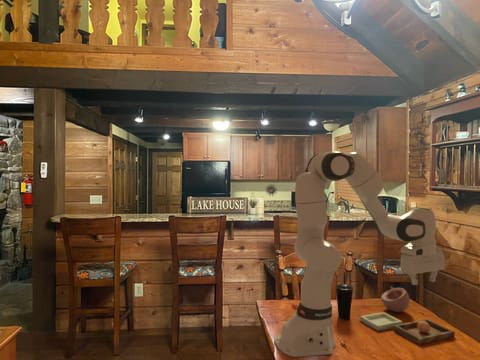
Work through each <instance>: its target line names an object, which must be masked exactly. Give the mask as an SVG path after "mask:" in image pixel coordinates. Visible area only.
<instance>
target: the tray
mask: <svg viewBox="0 0 480 360" xmlns="http://www.w3.org/2000/svg"><path fill="white" fill-rule="evenodd" d="M359 319H360V322H362V323H363V324H365V325H367V326H368V327H370V328H371V329H374V330H375V331H377V332H380V331H386V330H390V329H394V325H398V324H403V320H400V319H398V318H397V317H395V316H393V315H391V314H388V313H387V312H385V311H383V312H376V313H371V314H366V315H360V317H359Z"/></svg>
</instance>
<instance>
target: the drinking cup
mask: <svg viewBox="0 0 480 360" xmlns="http://www.w3.org/2000/svg"><path fill="white" fill-rule="evenodd" d="M335 289H336V305H337V315H338V318H339V319H341V320H343V321H347V320H348V321H349V320H350V319H351V314H352V313H351V311H352V302H353V300H352V299H353V292H354V286H352V285H350V284H349V283H346V272H345V271H344V272H343V283H338V284H335Z"/></svg>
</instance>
